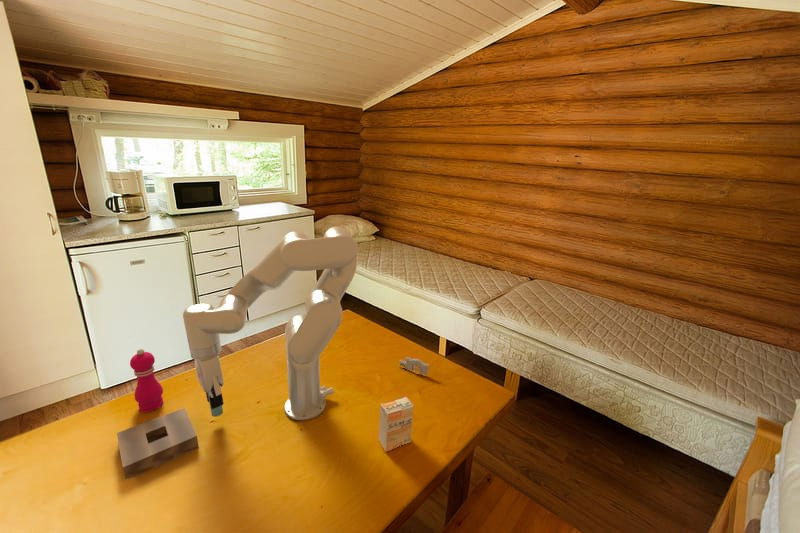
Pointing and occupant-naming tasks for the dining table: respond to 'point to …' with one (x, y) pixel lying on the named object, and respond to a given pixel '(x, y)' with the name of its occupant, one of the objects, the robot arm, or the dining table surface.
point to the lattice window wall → (410, 364)
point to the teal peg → (215, 411)
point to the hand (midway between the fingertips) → (215, 402)
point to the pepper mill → (146, 382)
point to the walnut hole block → (156, 442)
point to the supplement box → (395, 423)
